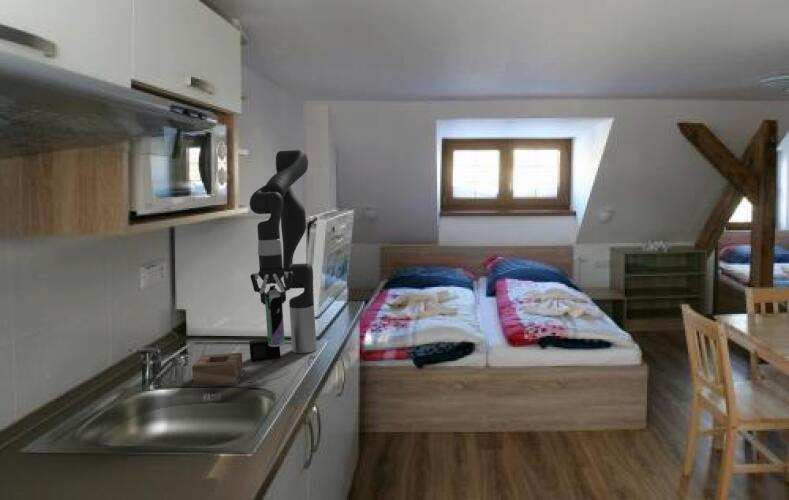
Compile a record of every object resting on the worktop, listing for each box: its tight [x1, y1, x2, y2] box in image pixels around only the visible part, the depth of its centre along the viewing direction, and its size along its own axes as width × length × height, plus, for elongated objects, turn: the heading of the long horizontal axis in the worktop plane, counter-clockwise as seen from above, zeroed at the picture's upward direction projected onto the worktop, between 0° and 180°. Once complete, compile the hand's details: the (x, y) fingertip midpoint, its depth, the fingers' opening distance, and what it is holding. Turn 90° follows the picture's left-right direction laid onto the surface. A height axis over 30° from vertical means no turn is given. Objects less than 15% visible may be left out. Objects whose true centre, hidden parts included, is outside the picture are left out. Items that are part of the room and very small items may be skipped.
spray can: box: [264, 284, 286, 347], centre depth 203 cm, size 6×6×20 cm
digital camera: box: [248, 338, 281, 363], centre depth 223 cm, size 10×5×7 cm, turn 111°
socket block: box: [191, 352, 246, 389], centre depth 201 cm, size 14×14×7 cm
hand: (273, 303), depth 202 cm, fingers closed on spray can, 5 cm apart
